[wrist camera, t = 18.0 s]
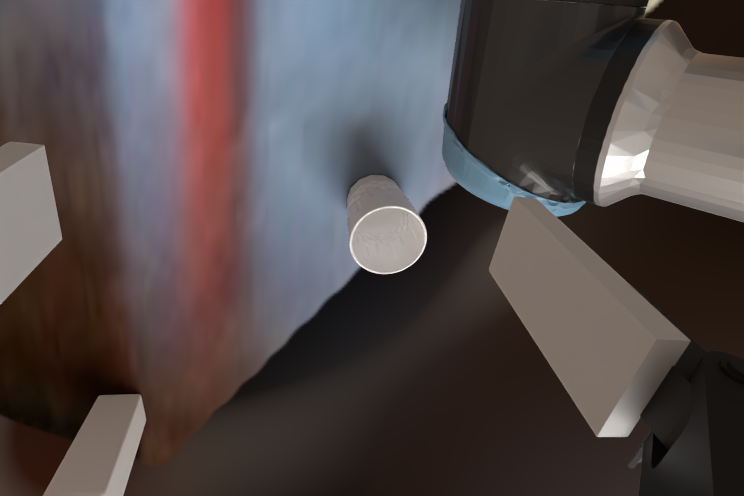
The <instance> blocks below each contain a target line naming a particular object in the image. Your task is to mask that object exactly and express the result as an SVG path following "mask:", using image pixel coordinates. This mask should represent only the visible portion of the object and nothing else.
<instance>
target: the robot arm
mask: <svg viewBox="0 0 744 496" xmlns="http://www.w3.org/2000/svg"><path fill="white" fill-rule="evenodd" d="M556 1H562V2H556ZM648 1H649V0H548V1H541V0H461V6H460V13H459V20H458V27H457V35H456V42H455V49H454V57H453V64H452V71H451V79H450V86H449V93H448V100H447V103H446V104H445V106H444V110H443V121H444V135H443V146H442V155H443V160H444V161H445V164H446V167H447V169H448V171H449V173H450V174H451V176H452V177H453V178H454V179H455V180H456V181H457V182H458V183H459V184H460V185H461V186H463V187H464V188H465V189H467V190H468V191H469V192H471V193H472V194H474V195H476V196H477V197H479V198H481V199H483V200H485V201H487V202H490V203H492V204H494V205H496V206H499V207H502V208H505V209H508V210H509V212H508V215H507V218H506V221H505V224H504V227H503V229H502V232H501V236H500V238H499V241H498V244H497V247H496V250H495V253H494V256H493V259H492V262H491V264H490V267H489V271H490V273H491V274H492V276H493V277H494V279H495V281H496V282H497V284H498V285H499V287H500V288H501V290H502V291H503V293H504V295H505V296H506V298H507V299H508V301H509V302H510V304H511V305H512V307H513V308H514V310H515V312H516V313H517V315H518V316H519V318H520V319H521V321H522V322H523V324H524V325H525V327H526V328H527V330H528V332H529V333H530V335H531V336H532V338H533V339H534V341H535V342H536V344H537V345H538V347H539V348H540V350H541V351H542V353H543V355H544V356H545V358H546V359H547V361H548V362H549V364H550V365H551V367H552V369H553V370H554V371H555V373H556V375H557V376H558V378H559V379H560V381H561V382H562V384H563V385H564V387H565V389H566V390H567V391H568V393H569V395H570V396H571V398H572V399H573V401H574V402H575V404H576V405H577V407H578V408H579V410H580V412H581V413H582V415H583V416H584V418H585V419H586V421H587V422H588V424H589V425H590V427H591V429H592V430H593V432H594V433H595V435H596V436H597V437H628V435H629V434H630V432H631V431H632V429H633V428H634V426H635V425H636V423H637V422H638V420H639V419H640V417H642V419H643V420H644V421H645V423H646V424H647V425H648V426H649V428H650V429H651V432H650V433H649V435H648V436H647V437H646V439H645V440H644V442H643V443H642V445H641V446H640V448H639V449H638V450H637V452H636V454H635V455H634V456H633V458H632V459H631V461H630V463H629V465H628V467H630V468H632V469H634V467H635V466H636V464H637V463H640V462H642V464H641V475H640V486H639V496H744V359H742V358H740V357H738V356H735V355H732V354H729V353H726V352H721V351H709V352H707V351H705V350H704V349H703V348H702V347H701V346H700V345H699V344H698V343H697V342H696V341H694V340H693V339H692V338H691V337H690V336H689V335H688V334H687V333H685V331H684V330H682V329H681V328H680V327H679V326H678V325H677V324H676V323H675V322H673V320H671V319H670V318H669V317H665V313H664V312H663V311H661V310H660V309H659V308H658V307H657V306H653V303H652V302H651V300H649V299H648V298H647V297H646V296H645V295H644V294H643V293H642V292H641V291H640V290H638V289H636V288H635V287H633V286H632V285H630V284H628V283H627V282H626V281H625V280H624V279H623V278H622V277H621V276H620V275H619V274H618V273H617V272H615V271H614V270H613V269H612V268H611V267H610V266H609V265H608V264H607V263H605V262H604V261H603V260H602V259H601V258H600V257H599V256H598V255H597V254H596V253H595V252H594V251H593V250H592V249H590V248H589V247H588V246H587V245H586V244H585V243H584V242H583V241H582V240H581V239H580V238H578V237H577V236H576V235H575V234H574V233H573V232H572V231H571V230H570V229H569V228H568V227H567V226H565V225H564V224H563V223H562V222H561V221H560V220H559V219H558V218H557V217H556V216H563V215H567V214H571V213H573V212H575V211H576V210H578V209H579V208H580V207H581V205H583V204H584V203H586V202H589V203H592V204H596V205H599V206H608V205H610V204H612V203H614V202H617V201H619V200H622V199H624V198H626V197H628V196H630V195H636V194H645V195H649V196H653V197H656V198H660V199H663V200H667V201H670V202H674V203H678V204H681V205H685V206H688V207H692V208H696V209H699V210H703V211H706V212H710V213H713V214H717V215H720V216H724V217H728V218H731V219H735V220H738V221H742V222H744V58H738V57H729V56H720V55H711V54H704V53H701V52H699V51H697V50H695V49H693V47H692V45H691V44H690V42H689V40H688V39H687V37H686V35H685V34H684V32H683V30H682V29H681V27H680V25H679V24H678V23H677V22H675V21H671V20H658V19H646V18H644V15H645V10H646V8H644V7H647V4H648ZM570 2H576V3H570ZM585 3H586V4H585ZM600 4H602V5H600ZM629 6H630V7H629ZM61 240H62V235H61V230H60V225H59V220H58V215H57V209H56V204H55V199H54V194H53V189H52V183H51V178H50V173H49V168H48V162H47V157H46V152H45V147H44V145H37V144H28V143H19V142H9V143H7V144H5V145H3V146H1V147H0V304H1V303H2V302H3V301H4V300H5V299H6V298H7V297H8V296H9V295H10V294H11V293H12V292H13V291H14V290H15V288H16V287H17V286H18V285H19V284H20V283H21V282H22V281H23V280H24V279H25V278H26V277H27V276H28V275H29V274H30V273H31V272H32V270H33V269H34V268H35V267H36V266H37V265H38V264H39V263H40V262H41V261H42V260H43V259H44V258H45V257H46V256H47V255H48V254H49V252H50V251H51V250H52V249H53V248H54V247H55V246H56V245H57V244H58V243H59V242H60V241H61Z"/></svg>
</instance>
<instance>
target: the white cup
mask: <svg viewBox="0 0 744 496" xmlns="http://www.w3.org/2000/svg"><path fill="white" fill-rule="evenodd" d="M346 201H347V226H348V235H349V245H350V251H351V254H352V256H353V258H354V259H355V261H356V262H357V263H358V264H359V265H360V266H361V267H363V268H364V269H366V270H368V271H371V272H374V273H378V274H390V273H395V272H399V271H402V270H404V269H406V268H408V267H409V266H410V265H412V264H413V263H414V262H415V261H416V260H417V259H418V258H419V257H420V256H421V254H422V252H423V250H424V248H425V245H426V240H427V233H426V228H425V225H424V223H423V221H422V220H421V218H420V217H419V215H418V213H417V212H416V210H415V209H414V207H413V205H412V204H411V202H410V201H409V199H408V198H407V197H406V195H405V194H404V192H402V191H401V190H400V188H399V187H398V185H397V183H396V182H395V181H393V180H392V179H390V178H388V177H386V176H384V175H369V176H367V177H364V178H362V179H359V180H358V181H357V182H356V183H355V184H354V185H353V186H352V187H351V188H350V191H349V194H348V197H347V200H346Z"/></svg>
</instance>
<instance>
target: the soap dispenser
mask: <svg viewBox="0 0 744 496" xmlns="http://www.w3.org/2000/svg"><path fill="white" fill-rule="evenodd" d="M145 422H146V416H145V411H144V407H143V402H142V397H141V395H140V394H123V395H100V396H98V398H97V400H96V401H95V403H94V405H93V407H92V409H91V410H90V412H89V414H88V416H87V418H86V419H85V421H84V423H83V425H82V427H81V428H80V430H79V432H78V434H77V436H76V437H75V439H74V441H73V443H72V445H71V447H70V448H69V450H68V452H67V454H66V455H65V457H64V459H63V461H62V463H61V465H60V466H59V468H58V470H57V472H56V474H55V475H54V477H53V479H52V481H51V482H50V484H49V486H48V488H47V490H46V491H45V493H44V495H43V496H123V494H124V491H125V488H126V484H127V481H128V478H129V474H130V471H131V468H132V465H133V461H134V458H135V455H136V452H137V448H138V445H139V442H140V438H141V435H142V432H143V429H144V425H145Z"/></svg>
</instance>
